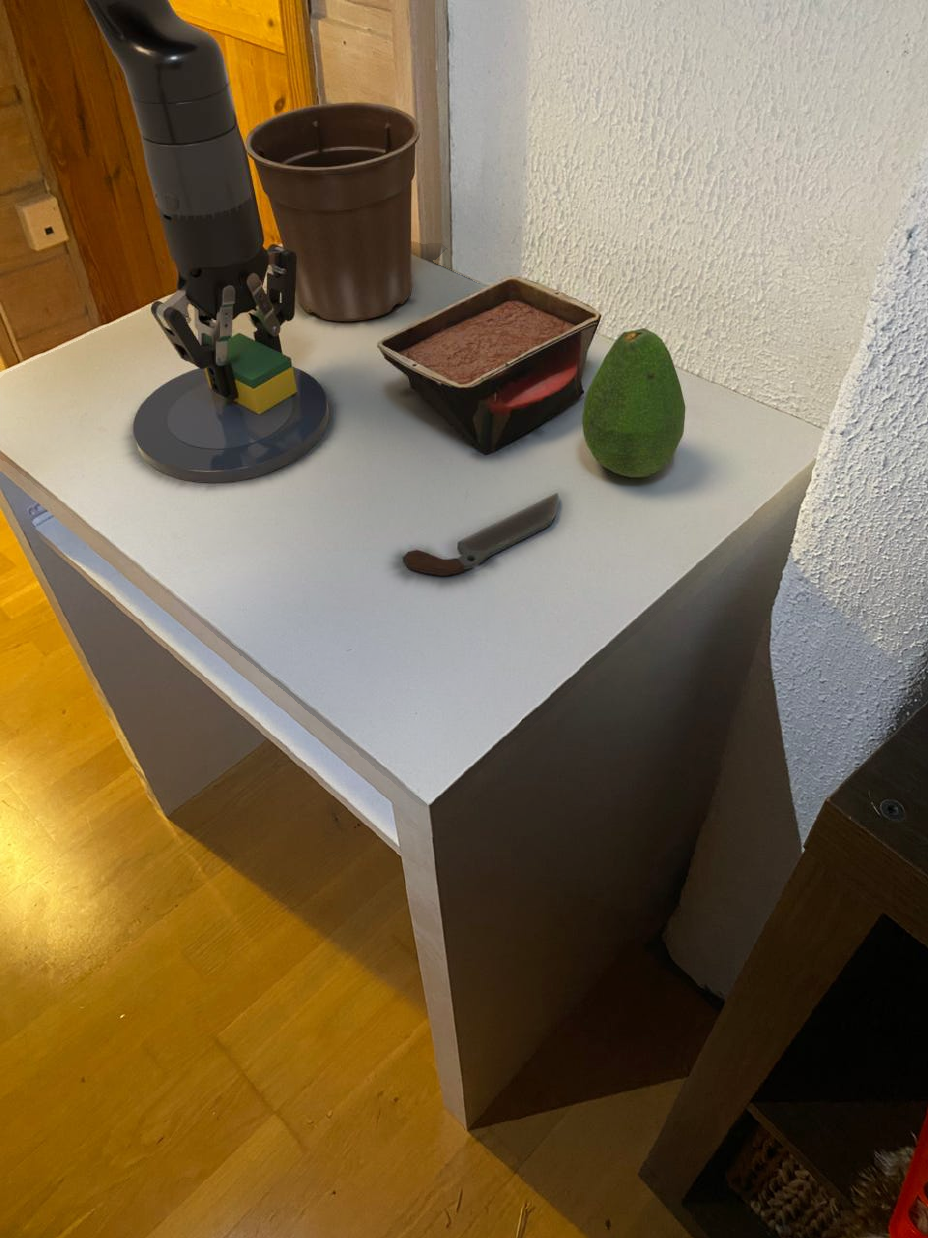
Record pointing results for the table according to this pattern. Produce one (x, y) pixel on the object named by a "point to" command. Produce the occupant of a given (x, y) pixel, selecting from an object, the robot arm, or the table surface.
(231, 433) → the plate
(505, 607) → the table surface
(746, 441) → the table surface
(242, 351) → the sponge
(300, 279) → the plant pot
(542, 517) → the knife
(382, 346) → the baking dish
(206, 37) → the robot arm
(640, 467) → the avocado
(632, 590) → the table surface
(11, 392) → the table surface
